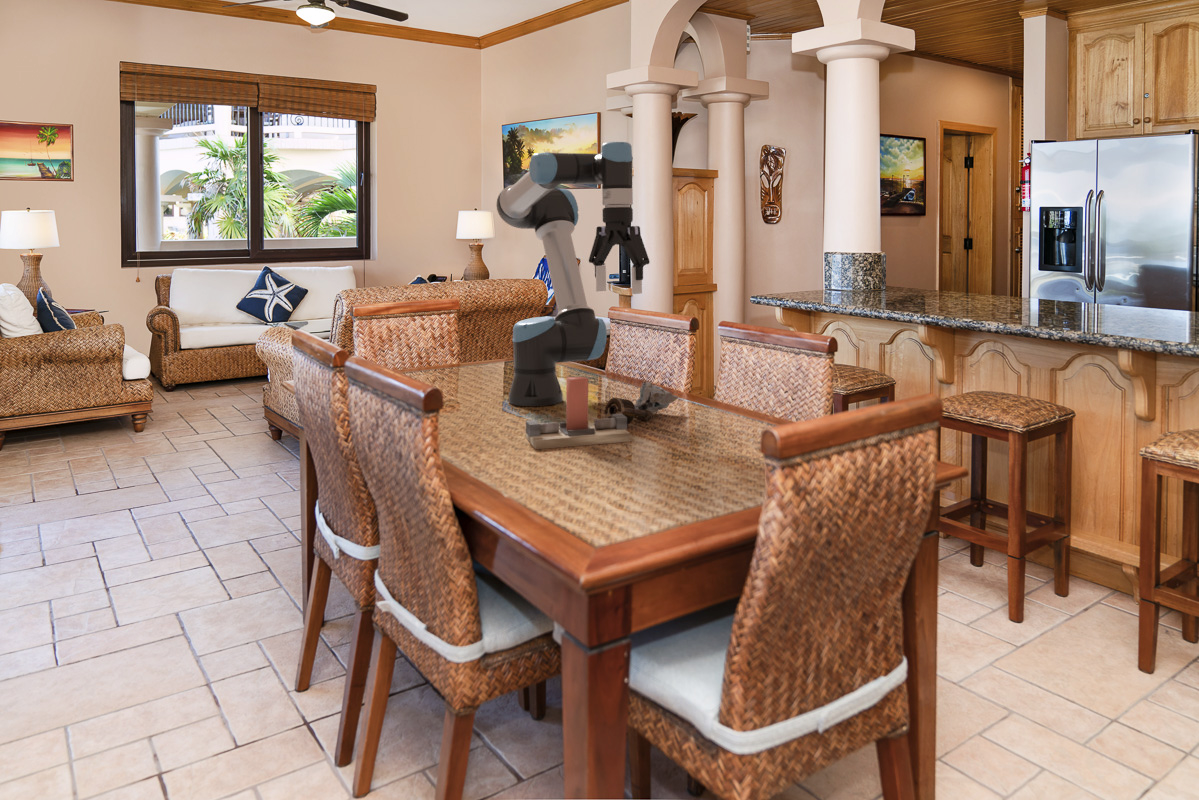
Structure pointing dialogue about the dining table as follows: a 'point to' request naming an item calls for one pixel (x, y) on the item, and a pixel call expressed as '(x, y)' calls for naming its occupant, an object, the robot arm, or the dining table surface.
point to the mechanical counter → (625, 410)
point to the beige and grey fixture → (577, 433)
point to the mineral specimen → (653, 398)
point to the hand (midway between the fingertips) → (618, 292)
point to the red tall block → (576, 403)
